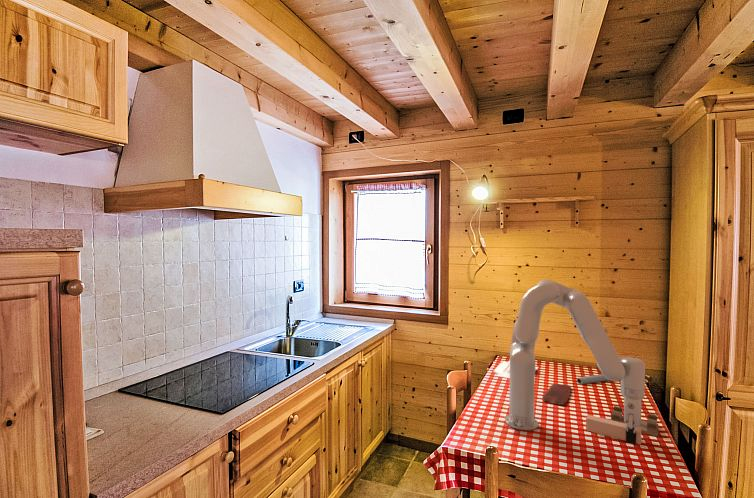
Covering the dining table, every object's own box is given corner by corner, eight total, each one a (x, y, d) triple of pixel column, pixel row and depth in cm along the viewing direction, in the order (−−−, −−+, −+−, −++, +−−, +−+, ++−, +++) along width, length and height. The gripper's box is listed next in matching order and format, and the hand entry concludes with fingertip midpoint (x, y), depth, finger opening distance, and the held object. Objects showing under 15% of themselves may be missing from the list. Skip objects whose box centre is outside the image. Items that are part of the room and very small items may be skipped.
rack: (657, 436, 151) (658, 425, 150) (609, 424, 160) (609, 413, 160) (658, 426, 159) (658, 415, 158) (612, 415, 168) (612, 405, 168)
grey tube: (609, 378, 214) (609, 372, 214) (620, 382, 208) (620, 376, 208) (576, 383, 207) (576, 376, 207) (586, 387, 201) (586, 381, 201)
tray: (490, 376, 217) (490, 369, 217) (503, 362, 241) (503, 356, 241) (529, 383, 207) (529, 376, 207) (538, 368, 230) (538, 362, 230)
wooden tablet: (564, 407, 177) (564, 403, 177) (541, 401, 182) (541, 398, 182) (573, 388, 199) (573, 384, 199) (552, 383, 204) (552, 380, 204)
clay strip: (640, 445, 145) (641, 431, 145) (585, 430, 155) (586, 418, 155) (641, 440, 148) (641, 427, 148) (587, 426, 159) (587, 414, 158)
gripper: (643, 401, 139) (642, 452, 139) (645, 386, 152) (644, 433, 153) (618, 396, 143) (617, 445, 144) (622, 382, 157) (621, 427, 157)
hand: (631, 438), depth 148 cm, fingers closed on clay strip, 4 cm apart
